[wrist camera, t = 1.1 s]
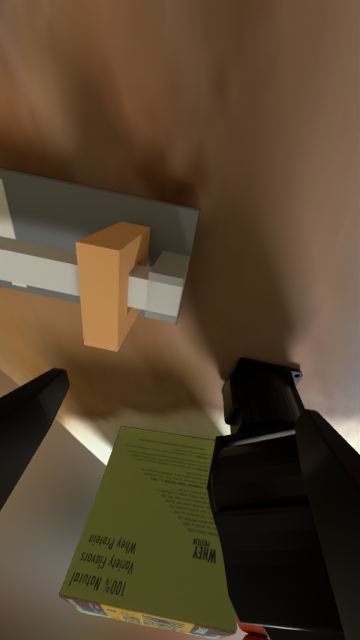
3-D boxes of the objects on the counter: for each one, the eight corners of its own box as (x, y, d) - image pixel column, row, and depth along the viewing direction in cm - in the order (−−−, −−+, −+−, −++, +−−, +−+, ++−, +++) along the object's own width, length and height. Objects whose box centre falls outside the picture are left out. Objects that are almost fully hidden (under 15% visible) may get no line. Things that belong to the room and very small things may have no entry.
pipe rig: (200, 209, 16) (195, 222, 11) (179, 314, 21) (168, 359, 15) (-73, 152, 16) (-209, 138, 11) (-30, 270, 21) (-109, 300, 16)
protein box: (119, 424, 31) (54, 596, 18) (228, 441, 30) (240, 635, 17) (125, 461, 37) (78, 613, 24) (216, 476, 36) (220, 643, 23)
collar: (150, 227, 15) (119, 250, 10) (143, 304, 18) (117, 351, 13) (121, 221, 15) (75, 241, 10) (119, 299, 18) (84, 344, 13)
